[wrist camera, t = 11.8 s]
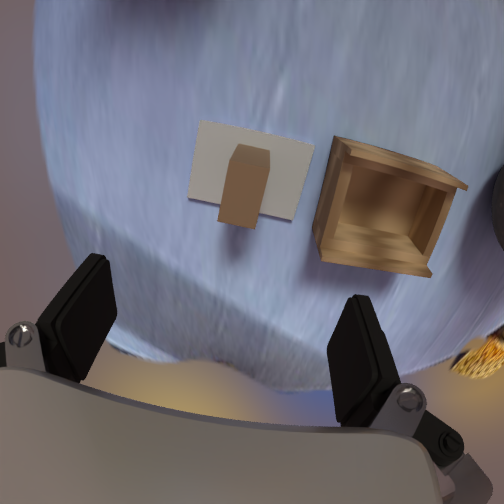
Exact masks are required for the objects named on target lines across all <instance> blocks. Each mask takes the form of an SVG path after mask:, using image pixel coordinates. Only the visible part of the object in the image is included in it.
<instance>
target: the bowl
mask: <svg viewBox="0 0 504 504" xmlns="http://www.w3.org/2000/svg"><path fill="white" fill-rule="evenodd" d="M492 221H493V227H494V231H495V234H496V237H497V239H498V242H499V244H500V245H501V247H502V249H503V251H504V165H503V167H502V169H501V171H500V172H499V175H498V177H497V179H496V182H495V186H494V190H493V196H492Z"/></svg>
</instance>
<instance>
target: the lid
mask: <svg viewBox="0 0 504 504" xmlns="http://www.w3.org/2000/svg"><path fill="white" fill-rule="evenodd" d="M314 148H315V146H314V145H312V144H309V143H305V142H301V141H297V140H294V139H290V138H286V137H282V136H278V135H273V134H269V133H265V132H261V131H256V130H251V129H247V128H242V127H237V126H232V125H227V124H222V123H216V122H211V121H205V120H200V123H199V128H198V134H197V139H196V145H195V151H194V157H193V163H192V169H191V176H190V183H189V189H188V196H187V197H188V198H193V199H198V200H202V201H207V202H212V203H217V204H220V210H219V215H218V220H217V221H218V222H223V223H228V224H232V225H237V226H242V227H246V228H251V229H255V227H256V223H257V219H258V215H259V213H263V214H267V215H271V216H276V217H280V218H284V219H289V220H293V218H294V215H295V212H296V209H297V205H298V202H299V199H300V195H301V192H302V189H303V185H304V182H305V179H306V175H307V172H308V168H309V165H310V162H311V158H312V155H313V151H314Z"/></svg>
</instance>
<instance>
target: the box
mask: <svg viewBox="0 0 504 504" xmlns="http://www.w3.org/2000/svg"><path fill="white" fill-rule="evenodd" d="M457 188H460V189H463V190H465V191H467V189H468V185H466V184H464V183H463V182H461V181H460V180H458V179H457V178H455V177H454V176H452V175H450V174H449V173H447V172H445V171H444V170H442V169H440V168H439V167H437V166H435V165H432V164H430V163H427V162H424V161H421V160H418V159H415V158H412V157H409V156H406V155H403V154H399V153H396V152H393V151H390V150H386V149H383V148H379V147H376V146H372V145H369V144H365V143H361V142H357V141H353V140H350V139H346V138H341V137H337V136H334V138H333V142H332V147H331V151H330V156H329V160H328V165H327V169H326V173H325V177H324V182H323V186H322V190H321V194H320V198H319V202H318V206H317V210H316V214H315V218H314V222H313V226H312V230H313V233H314V237H315V240H316V244H317V248H318V251H319V255H320V259H321V261H324V262H331V263H337V264H344V265H350V266H356V267H363V268H369V269H376V270H382V271H389V272H395V273H402V274H408V275H414V276H421V277H427V278H431V276H432V272H431V271H430V270H429V268H428V267H427V263H428V261H429V258H430V256H431V254H432V252H433V249H434V247H435V245H436V242H437V240H438V238H439V235H440V233H441V230H442V228H443V225H444V223H445V220H446V218H447V215H448V212H449V210H450V207H451V204H452V201H453V198H454V196H455V193H456V190H457Z"/></svg>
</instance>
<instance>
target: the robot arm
mask: <svg viewBox="0 0 504 504" xmlns="http://www.w3.org/2000/svg"><path fill="white" fill-rule="evenodd" d="M116 317H117V307H116V301H115V295H114V289H113V283H112V276H111V269H110V262H109V260H107V259H106V257H105V256H104V255H100V254H95V253H91V254H90V255H89V256H88V257H87V258H86V259H85V261H84V262H83V263H82V264H81V265H80V266H79V268H78V269H77V270H76V271H75V272H74V274H73V275H72V276H71V277H70V278H69V280H68V281H67V282H66V283H65V285H64V286H63V287H62V288H61V289H60V291H59V292H58V293H57V295H56V296H55V297H54V298H53V300H52V301H51V302H50V304H49V305H48V306H47V308H46V309H45V310H44V311H43V313H42V314H41V316H40V317H39V319H38V321H37V323H36V324H33V323H31V322H28V321H22V322H18V323H16V324H14V325H13V326H12V327H10V328H9V330H8V331H7V333H6V335H5V342H2V343H0V504H486V503H487V502H488V501H489V499H490V497H491V496H492V492H493V486H492V483H491V481H490V479H489V478H488V477H487V476H486V474H485V473H484V472H483V471H482V469H481V468H480V467H479V466H478V464H477V463H476V462H475V461H474V459H473V458H472V457H471V456H470V455H469V453H467V454H464V452H463V451H464V442H463V439H462V437H461V436H460V434H459V433H458V432H456V431H455V430H454V429H452V428H451V427H449V426H448V425H446V424H445V423H444V422H442V421H441V420H439V419H438V418H437V417H435V416H434V415H433V414H431V413H430V412H428V411H427V410H426V405H427V402H426V398H425V395H424V393H423V392H422V391H421V390H420V389H419V388H418V387H417V386H415V385H413V384H409V383H401V381H400V378H399V375H398V372H397V369H396V366H395V363H394V360H393V357H392V354H391V351H390V348H389V345H388V342H387V339H386V336H385V334H384V332H383V331H382V330H381V327H380V324H379V321H378V319H377V316H376V313H375V311H374V308H373V305H372V303H371V300H370V298H369V296H365V295H357V294H355V295H353V297H352V298H351V297H350V298H348V300H347V302H346V304H345V307H344V309H343V311H342V314H341V316H340V318H339V321H338V323H337V325H336V327H335V330H334V332H333V334H332V336H331V338H330V341H329V343H328V346H327V357H328V363H329V370H330V377H331V384H332V391H333V398H334V406H335V414H336V420H337V422H340V423H341V427H321V426H318V427H317V426H298V425H281V424H269V423H258V422H249V421H240V420H232V419H225V418H219V417H212V416H206V415H200V414H195V413H189V412H184V411H179V410H174V409H169V408H165V407H160V406H156V405H152V404H147V403H144V402H140V401H135V400H132V399H128V398H125V397H121V396H117V395H114V394H111V393H107V392H104V391H101V390H98V389H95V388H92V387H88V386H85V385H82V384H79V383H80V381H81V380H84V379H85V378H86V376H87V374H88V372H89V370H90V368H91V366H92V364H93V362H94V360H95V358H96V356H97V353H98V352H99V350H100V348H101V346H102V344H103V342H104V340H105V338H106V336H107V335H108V333H109V331H110V329H111V327H112V325H113V323H114V321H115V320H116Z"/></svg>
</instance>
